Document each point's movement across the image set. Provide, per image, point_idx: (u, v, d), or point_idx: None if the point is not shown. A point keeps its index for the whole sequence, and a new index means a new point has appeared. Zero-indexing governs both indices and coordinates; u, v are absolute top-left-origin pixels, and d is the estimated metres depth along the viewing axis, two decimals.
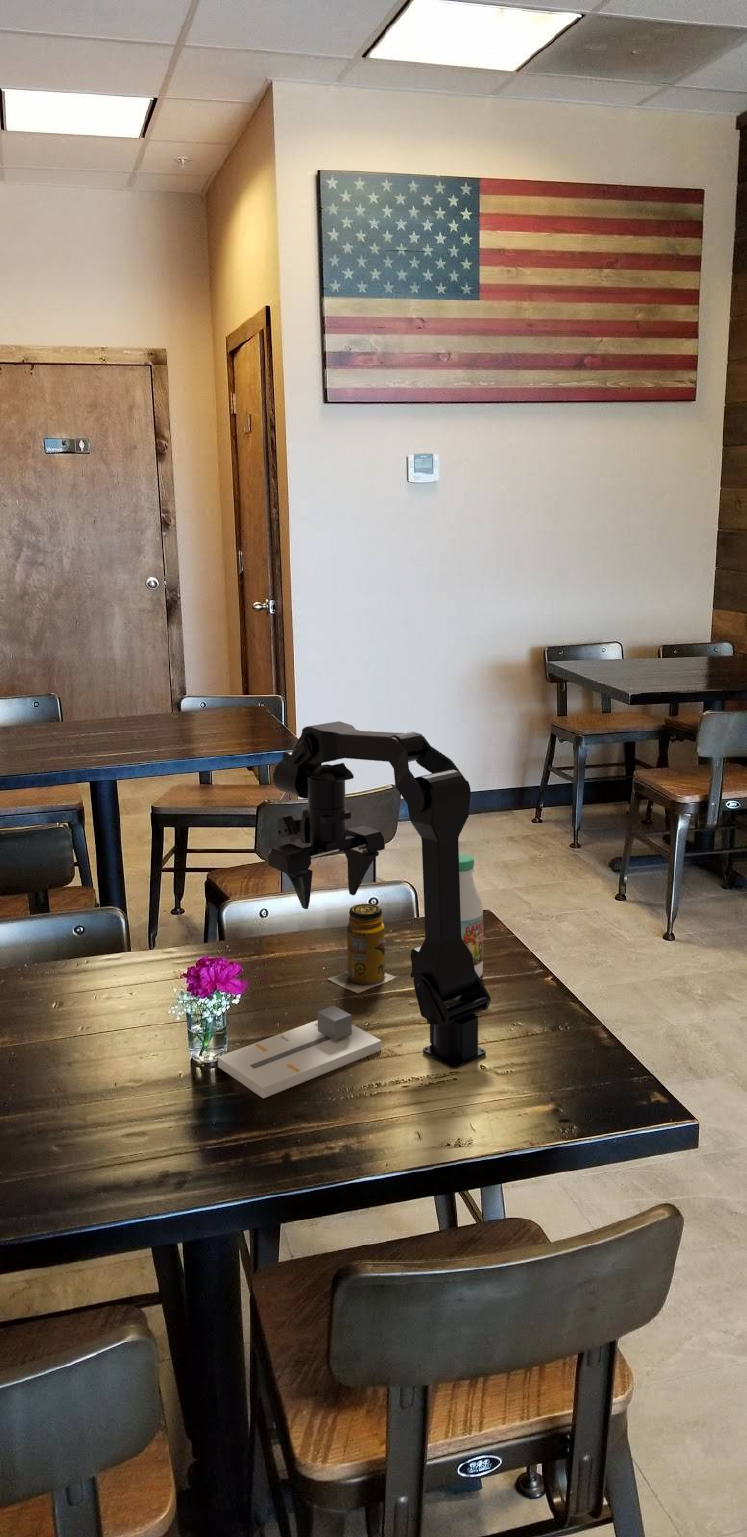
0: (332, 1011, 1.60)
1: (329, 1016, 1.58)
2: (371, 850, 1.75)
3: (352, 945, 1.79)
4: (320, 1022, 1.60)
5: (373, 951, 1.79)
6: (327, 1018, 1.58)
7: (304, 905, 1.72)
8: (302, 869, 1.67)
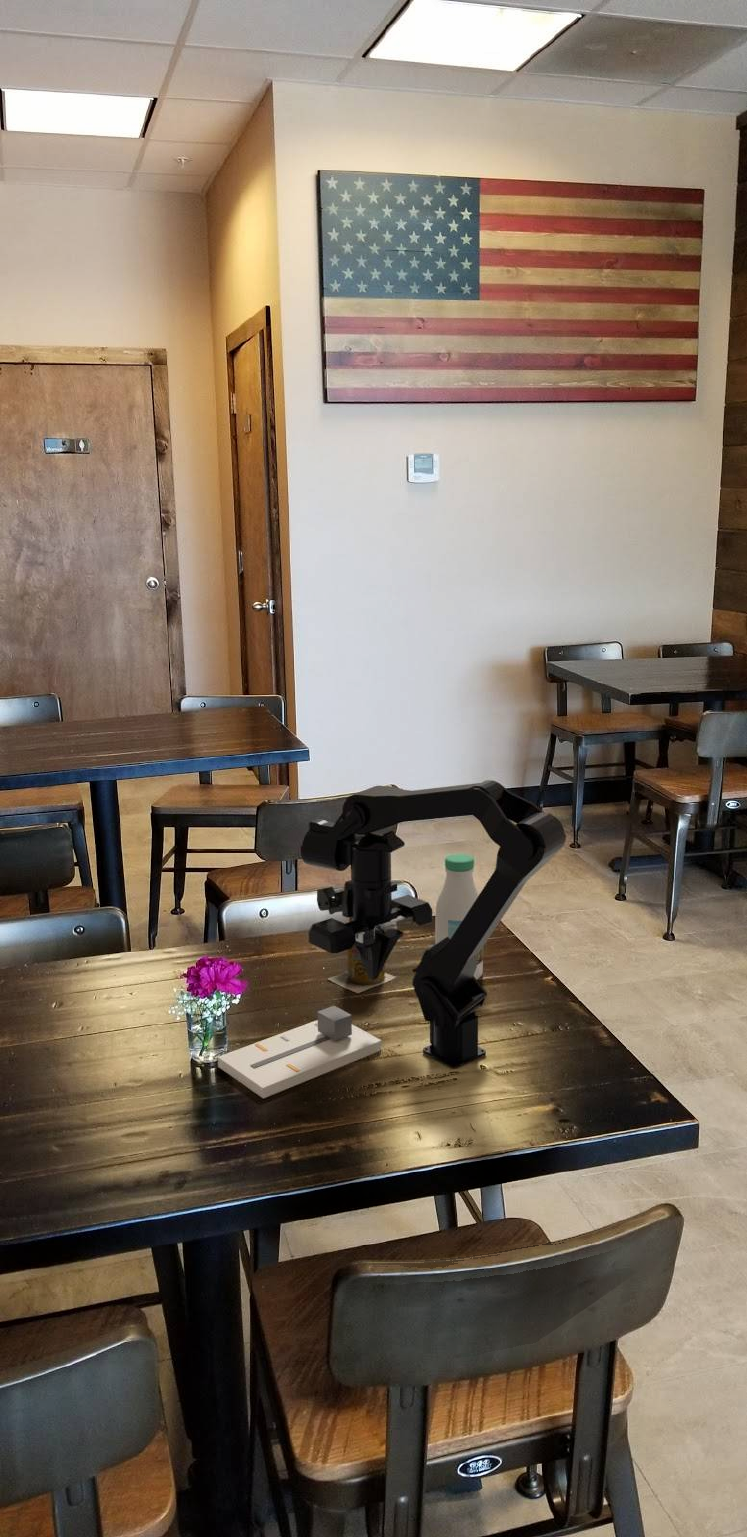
0: (332, 1011, 1.60)
1: (329, 1016, 1.58)
2: (418, 923, 1.62)
3: None
4: (320, 1022, 1.60)
5: None
6: (327, 1018, 1.58)
7: (371, 976, 1.62)
8: (346, 948, 1.54)
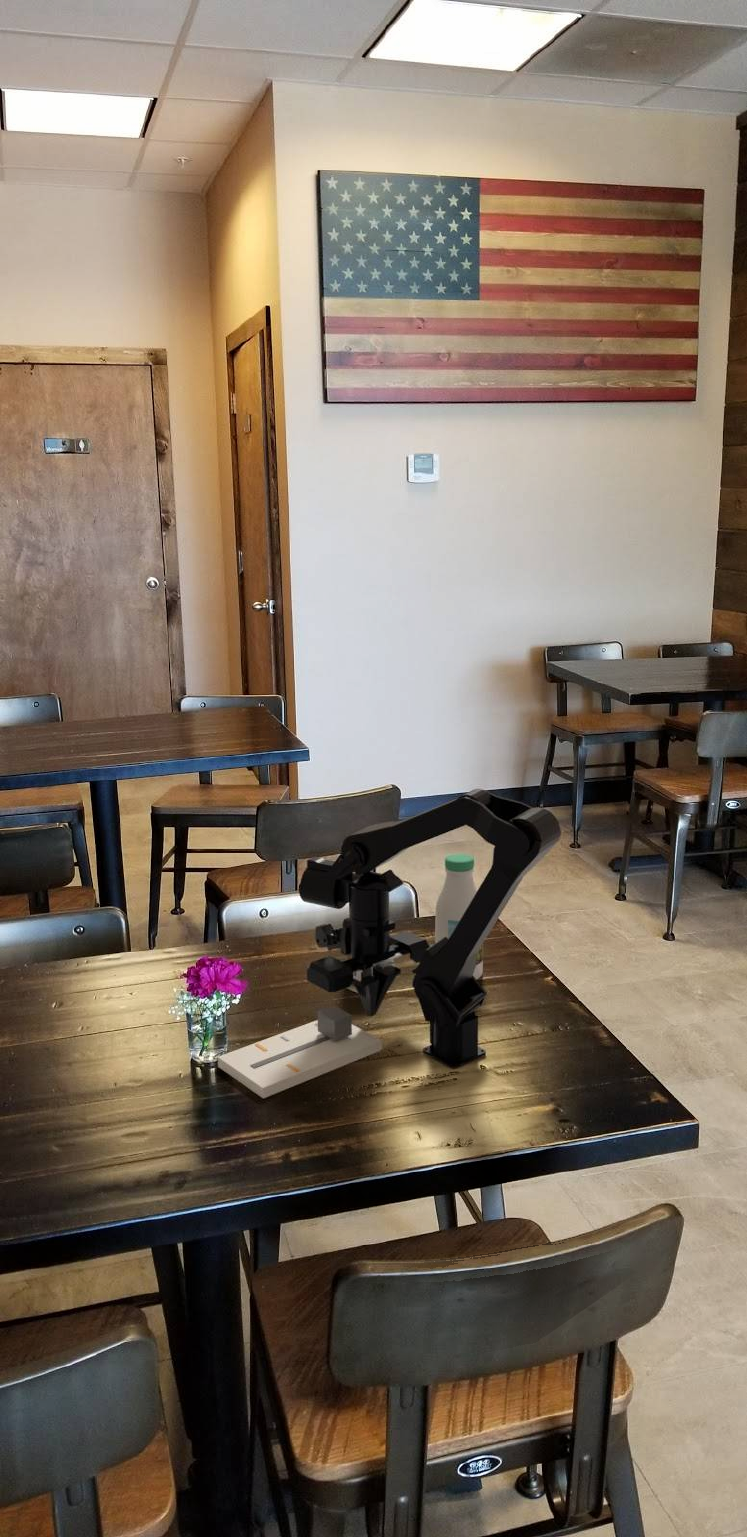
0: (332, 1011, 1.60)
1: (329, 1016, 1.58)
2: (416, 961, 1.63)
3: None
4: (320, 1022, 1.60)
5: None
6: (327, 1018, 1.58)
7: (369, 1012, 1.63)
8: (344, 987, 1.55)
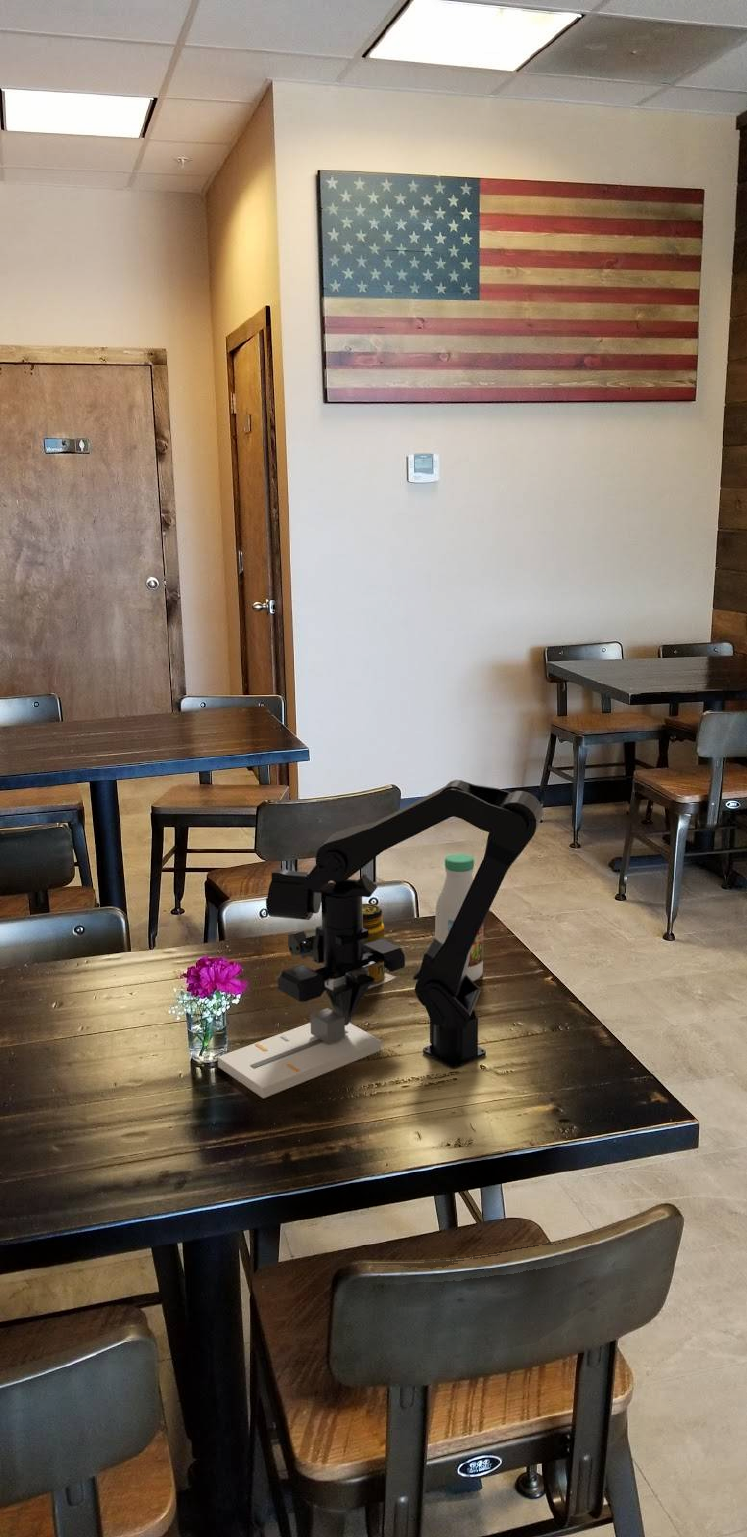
0: (325, 1014, 1.59)
1: (322, 1019, 1.58)
2: (390, 969, 1.61)
3: None
4: (313, 1025, 1.59)
5: None
6: (320, 1021, 1.57)
7: None
8: (315, 996, 1.53)
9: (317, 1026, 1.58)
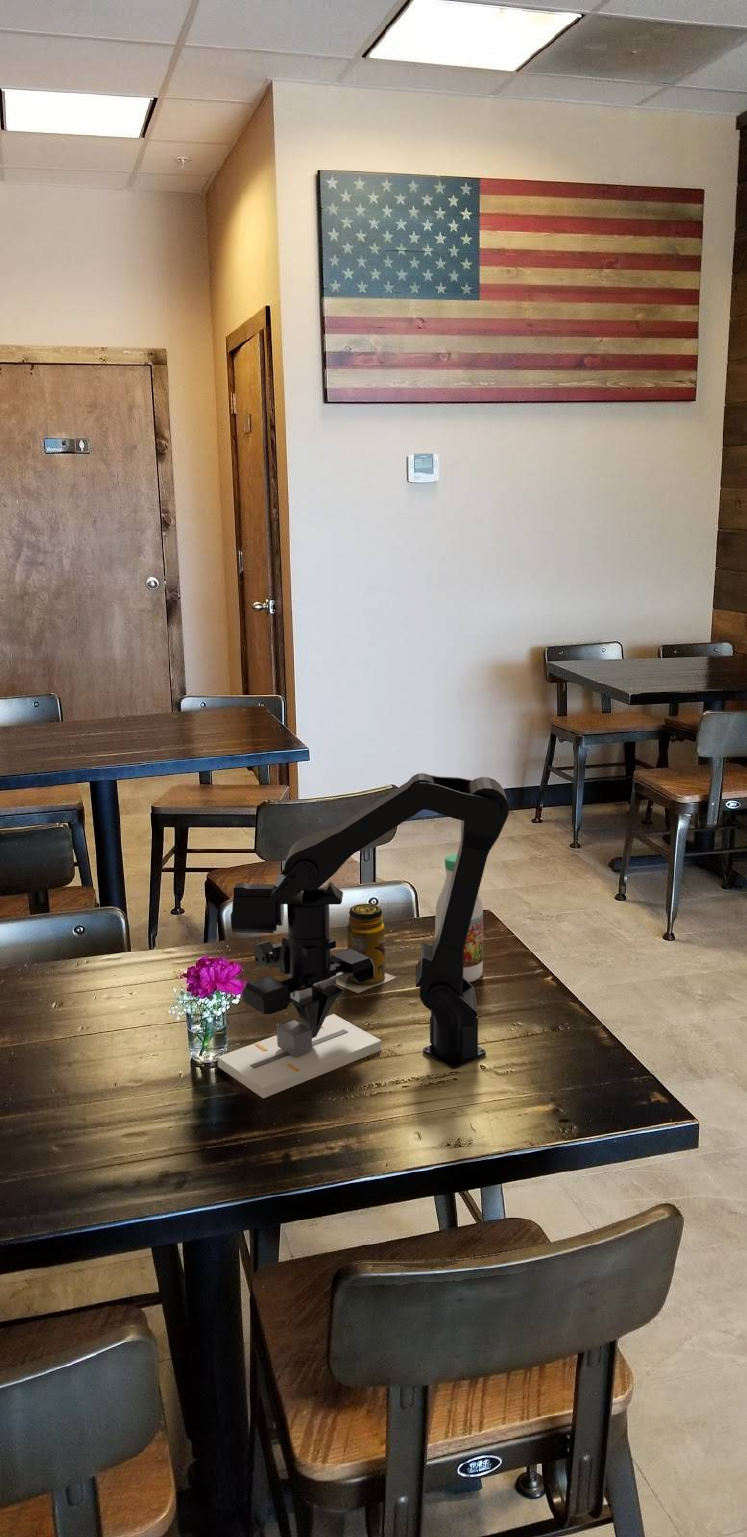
0: (292, 1026, 1.56)
1: (289, 1031, 1.54)
2: (359, 980, 1.57)
3: (352, 945, 1.79)
4: (279, 1037, 1.55)
5: (373, 951, 1.79)
6: (286, 1033, 1.54)
7: None
8: (280, 1008, 1.49)
9: (283, 1039, 1.55)
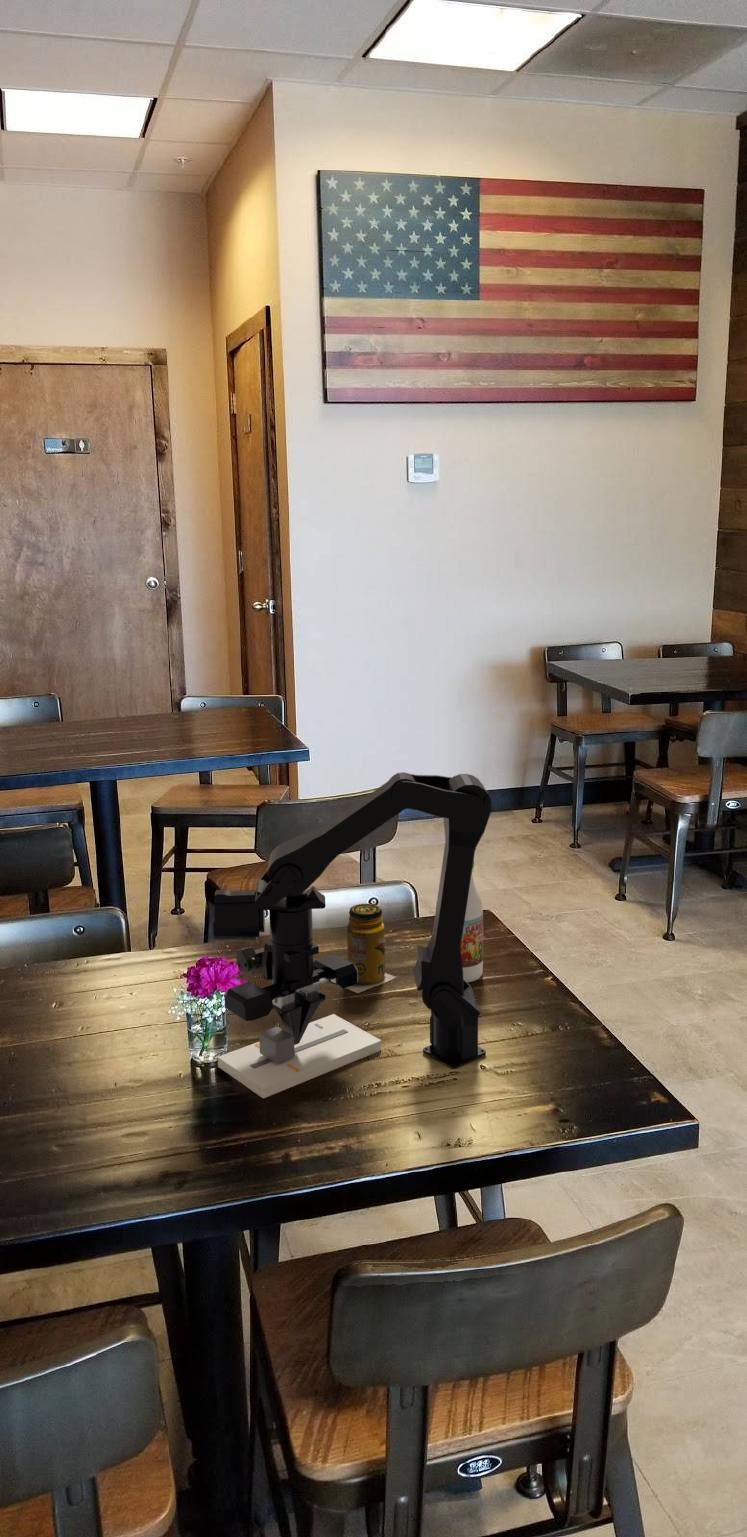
0: (274, 1032, 1.54)
1: (271, 1038, 1.52)
2: (342, 986, 1.55)
3: (352, 945, 1.79)
4: (261, 1044, 1.54)
5: (373, 951, 1.79)
6: (268, 1040, 1.52)
7: None
8: (262, 1015, 1.47)
9: (266, 1045, 1.53)
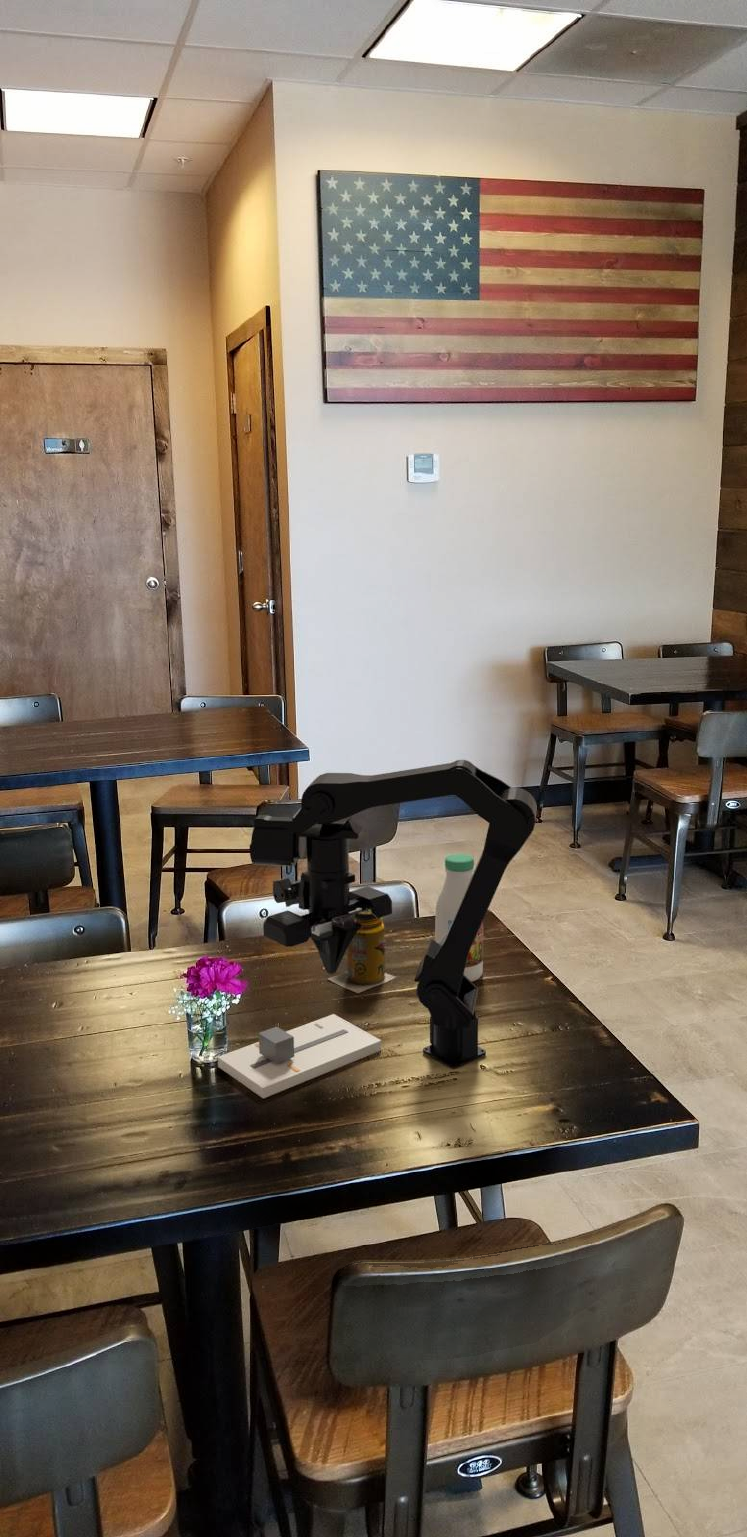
0: (274, 1032, 1.54)
1: (270, 1038, 1.52)
2: (377, 915, 1.57)
3: (352, 945, 1.79)
4: (261, 1044, 1.54)
5: (373, 951, 1.79)
6: (268, 1040, 1.52)
7: (329, 970, 1.57)
8: (302, 941, 1.49)
9: (265, 1045, 1.53)
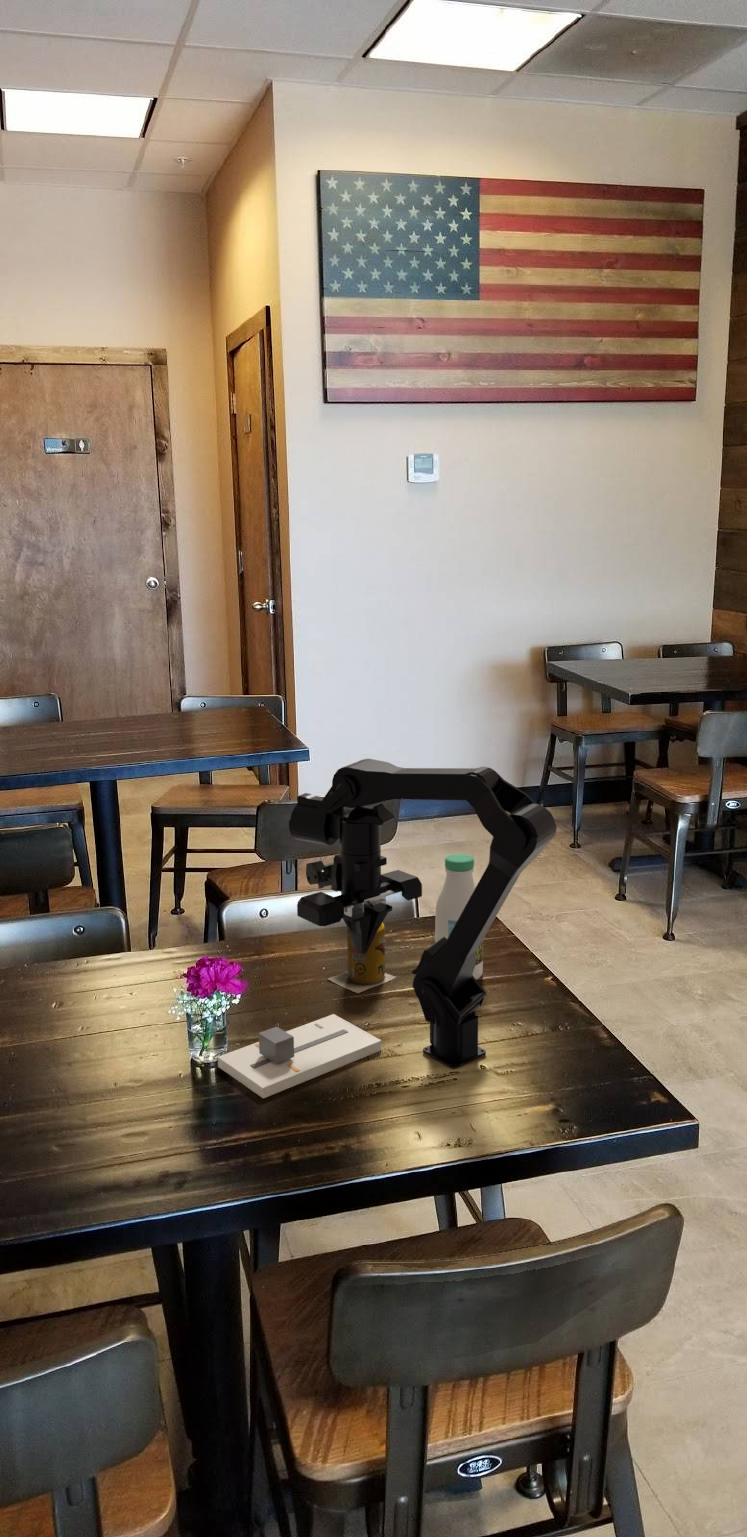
0: (274, 1032, 1.54)
1: (270, 1038, 1.52)
2: (408, 898, 1.62)
3: (352, 945, 1.79)
4: (261, 1044, 1.54)
5: (373, 951, 1.79)
6: (268, 1040, 1.52)
7: (360, 950, 1.61)
8: (334, 921, 1.54)
9: (265, 1045, 1.53)
